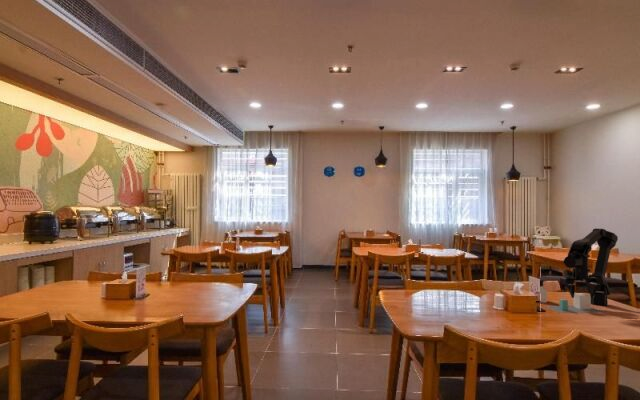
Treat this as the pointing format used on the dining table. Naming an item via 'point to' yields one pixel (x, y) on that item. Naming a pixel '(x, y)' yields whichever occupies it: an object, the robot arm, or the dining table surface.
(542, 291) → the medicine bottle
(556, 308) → the board
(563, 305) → the post
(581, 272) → the robot arm
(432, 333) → the dining table surface
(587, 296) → the white rectangular block
